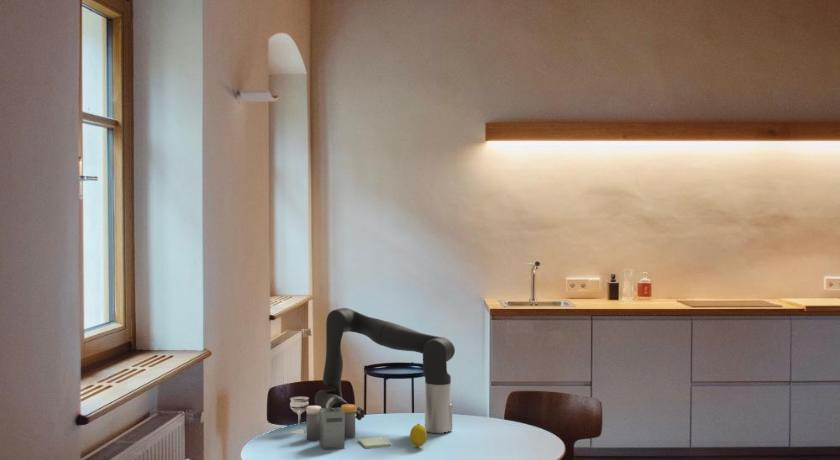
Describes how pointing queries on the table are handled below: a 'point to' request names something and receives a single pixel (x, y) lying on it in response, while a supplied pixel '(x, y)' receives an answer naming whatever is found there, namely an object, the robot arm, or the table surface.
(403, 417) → the table surface
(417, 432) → the lemon
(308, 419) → the cylinder
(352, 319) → the robot arm
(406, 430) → the table surface
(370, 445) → the pad
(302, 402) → the wineglass
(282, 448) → the table surface
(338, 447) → the unit
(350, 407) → the cylinder
